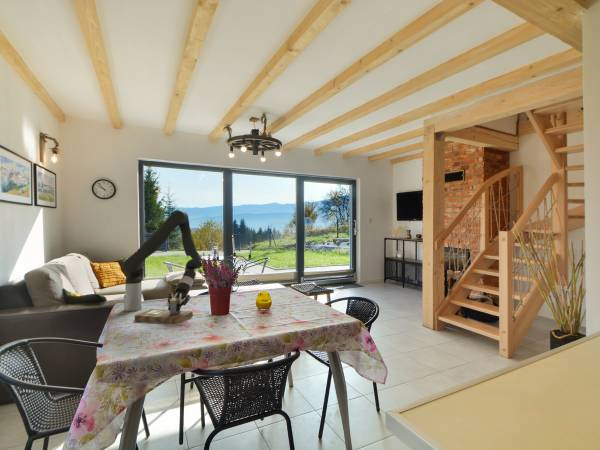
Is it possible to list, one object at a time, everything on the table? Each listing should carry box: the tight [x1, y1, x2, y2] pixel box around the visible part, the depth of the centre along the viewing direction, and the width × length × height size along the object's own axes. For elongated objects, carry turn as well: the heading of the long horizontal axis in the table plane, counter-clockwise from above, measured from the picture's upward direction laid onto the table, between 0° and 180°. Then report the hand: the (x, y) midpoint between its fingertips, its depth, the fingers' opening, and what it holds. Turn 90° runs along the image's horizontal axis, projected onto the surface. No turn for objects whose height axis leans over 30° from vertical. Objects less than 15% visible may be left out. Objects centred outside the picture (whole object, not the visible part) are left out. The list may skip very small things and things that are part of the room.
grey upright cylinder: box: [169, 298, 181, 316], centre depth 184 cm, size 4×4×12 cm
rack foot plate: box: [134, 308, 194, 325], centre depth 185 cm, size 28×14×3 cm, turn 79°
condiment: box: [166, 283, 179, 303], centre depth 225 cm, size 7×8×12 cm
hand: (173, 310), depth 182 cm, fingers open, 4 cm apart
